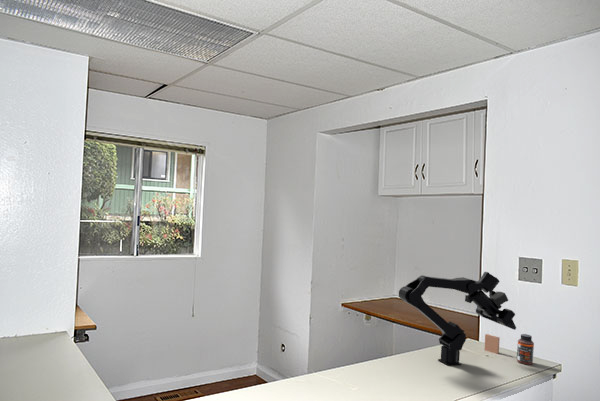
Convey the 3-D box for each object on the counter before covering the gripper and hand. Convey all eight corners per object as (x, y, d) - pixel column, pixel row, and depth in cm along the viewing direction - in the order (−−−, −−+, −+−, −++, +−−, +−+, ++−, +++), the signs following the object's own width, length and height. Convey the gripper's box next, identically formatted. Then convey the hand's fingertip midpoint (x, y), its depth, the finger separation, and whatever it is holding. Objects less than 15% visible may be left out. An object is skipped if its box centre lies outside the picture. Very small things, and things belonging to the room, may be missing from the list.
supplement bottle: (517, 363, 184) (519, 335, 184) (515, 359, 189) (516, 332, 190) (534, 366, 182) (535, 337, 182) (531, 361, 188) (532, 334, 188)
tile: (497, 354, 196) (498, 337, 196) (484, 350, 201) (485, 334, 201) (499, 353, 197) (499, 337, 197) (486, 349, 202) (486, 333, 202)
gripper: (509, 290, 175) (535, 316, 177) (480, 282, 193) (504, 305, 195) (492, 312, 173) (519, 338, 176) (465, 302, 192) (489, 325, 194)
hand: (507, 325), depth 185 cm, fingers open, 9 cm apart
